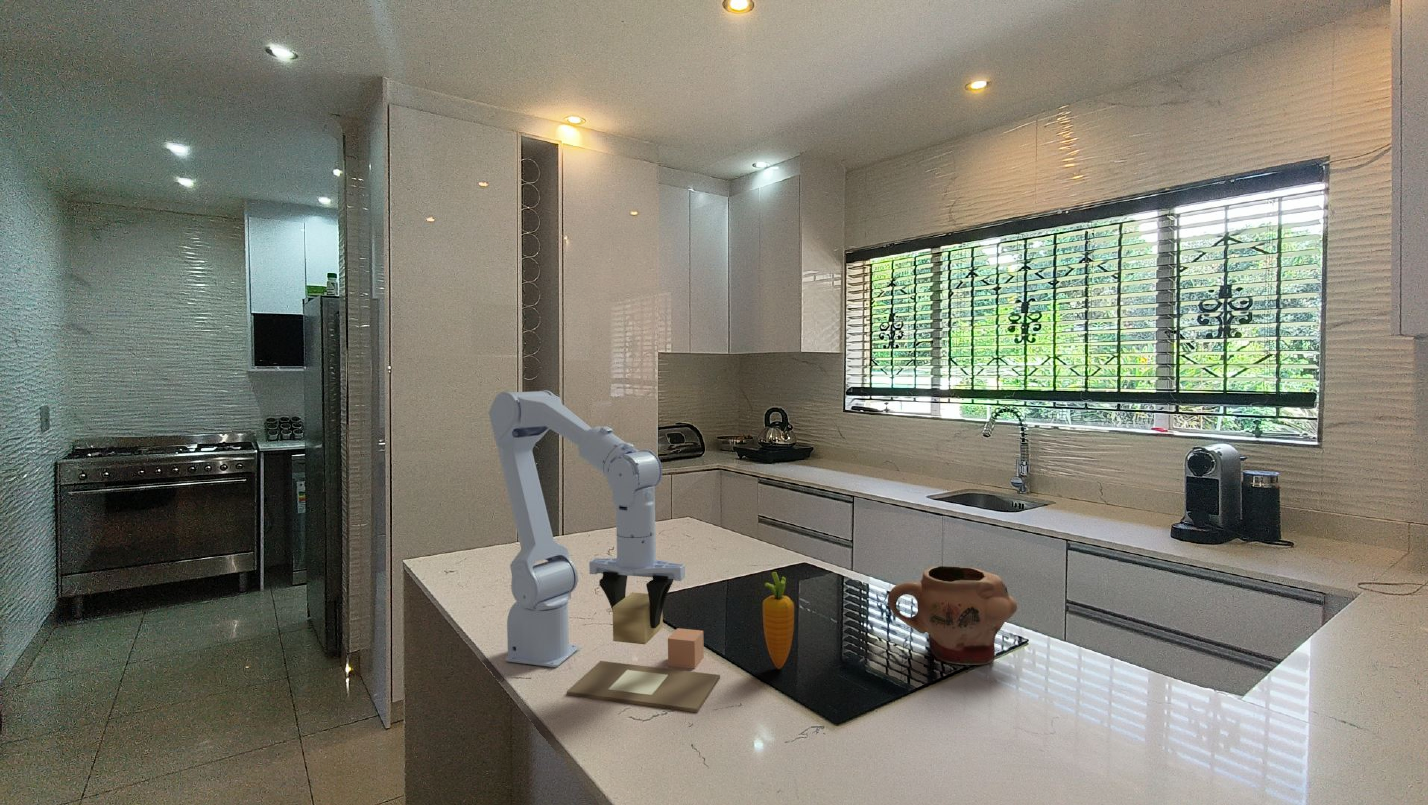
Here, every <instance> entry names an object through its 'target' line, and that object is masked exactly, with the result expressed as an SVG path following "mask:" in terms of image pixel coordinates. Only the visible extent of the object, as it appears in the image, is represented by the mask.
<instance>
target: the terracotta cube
mask: <svg viewBox="0 0 1428 805" xmlns="http://www.w3.org/2000/svg"><path fill="white" fill-rule="evenodd" d="M704 650H705V648H704V630H699V629H690V628H687V629H686V628H680V627H679V628H676V629H675V630H674V631H673V632H672V633H671V634H670V635H669V636H668V638H667V664H668V665H667V666H668V667H676V668H684V669H692V670H696V668H697V667H698V666H699V664H700V663H701V662H702V660H704V657H705V653H704V652H705V651H704Z"/></svg>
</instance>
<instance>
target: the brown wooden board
mask: <svg viewBox="0 0 1428 805" xmlns="http://www.w3.org/2000/svg"><path fill="white" fill-rule="evenodd" d="M720 679H721V674H714V673H708V672H707V673H706V672H698V671H690V670H682V669H681V670H680V669H674V668H664V667H656V666H647V665H640V664H639V665H637V664H632V663H631V664H629V663H621V662H613V661H605V660H604V661H603V660H600V661H599V662H598V663H596V664H595V665H594V666H593V667H592V668H591V669H589V670H588V672H586V673H585V674H584V675H583V676H582V677H581V678H580V679H579V680H578V681H575V683H574V684H573V685H572V686H571V687H569V689H567V691H566V695H567V696H572V697H580V698H585V699H586V698H588V699H593V700H594V699H596V700H601V701H609V702H616V703H624V704H632V705H639V706H644V707H645V706H647V707H652V708H653V707H655V708H662V709H668V710H674V711H675V710H677V711H683V712H684V711H685V712H690V713H691V712H692V713H696V714H697V713H698V712H699V711H700V710H701V708H702V706H703V705H704V703H705V702H706V700H707V699H708V697H709V695H710V694H711V693H712V691H713V690H714V688H715V687H716V685H717V683H718V682H719V681H720Z"/></svg>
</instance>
